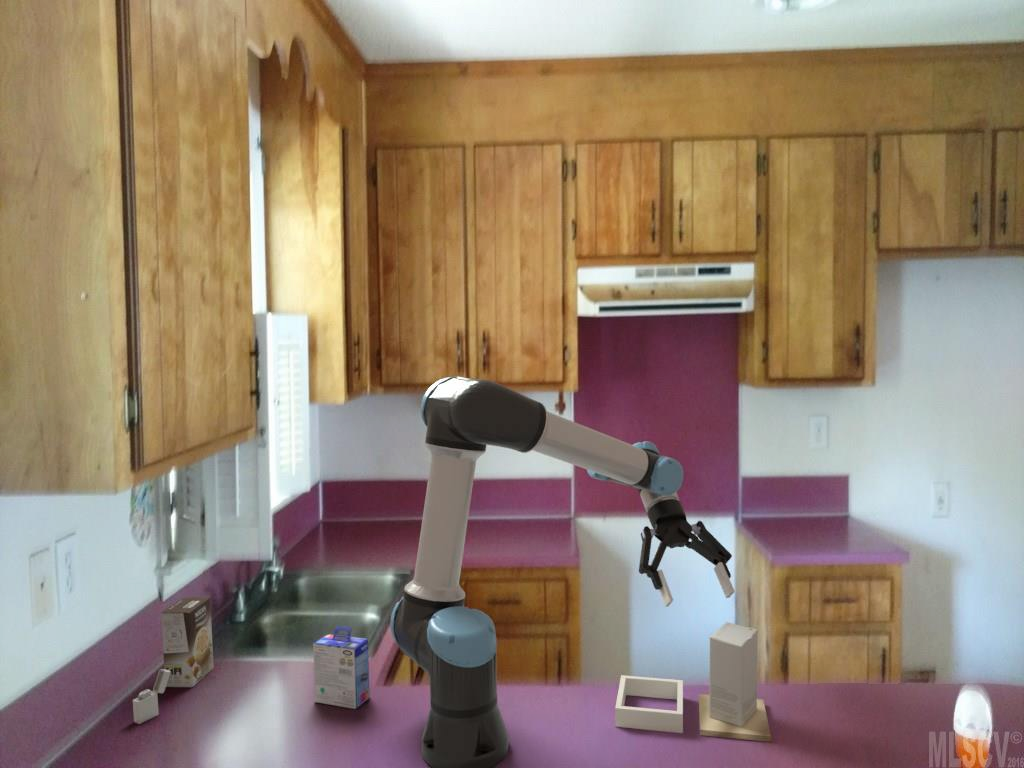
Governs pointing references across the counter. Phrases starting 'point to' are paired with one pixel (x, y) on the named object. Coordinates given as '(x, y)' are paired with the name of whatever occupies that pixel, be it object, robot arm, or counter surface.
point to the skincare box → (733, 674)
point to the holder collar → (646, 716)
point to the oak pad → (750, 730)
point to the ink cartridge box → (341, 669)
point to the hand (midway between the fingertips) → (700, 599)
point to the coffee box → (187, 641)
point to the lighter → (150, 699)
